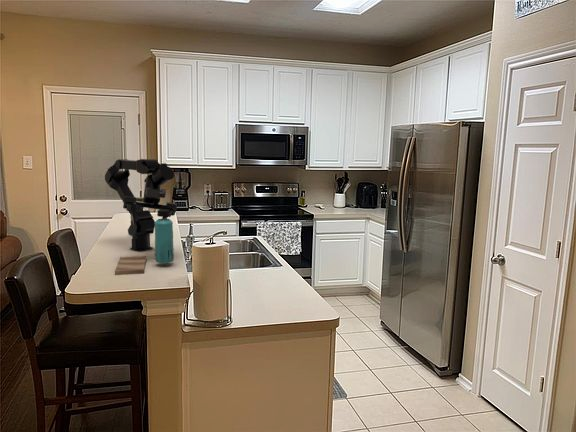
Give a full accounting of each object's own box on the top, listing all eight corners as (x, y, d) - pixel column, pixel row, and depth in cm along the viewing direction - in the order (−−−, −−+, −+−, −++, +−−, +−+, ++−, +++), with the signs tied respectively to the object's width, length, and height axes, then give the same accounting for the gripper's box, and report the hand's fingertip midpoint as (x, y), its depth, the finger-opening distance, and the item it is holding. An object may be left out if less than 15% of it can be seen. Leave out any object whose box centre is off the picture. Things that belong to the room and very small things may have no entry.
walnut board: (120, 260, 156) (120, 257, 155) (146, 259, 158) (146, 256, 158) (114, 274, 139) (114, 271, 138) (143, 273, 141) (143, 269, 141)
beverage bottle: (168, 268, 148) (167, 211, 144) (151, 266, 149) (150, 210, 146) (177, 263, 154) (176, 209, 151) (160, 261, 155) (159, 207, 152)
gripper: (128, 174, 151) (122, 213, 144) (181, 183, 158) (177, 221, 151) (126, 188, 160) (119, 226, 153) (176, 197, 167) (172, 233, 160)
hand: (147, 226), depth 154 cm, fingers open, 9 cm apart
